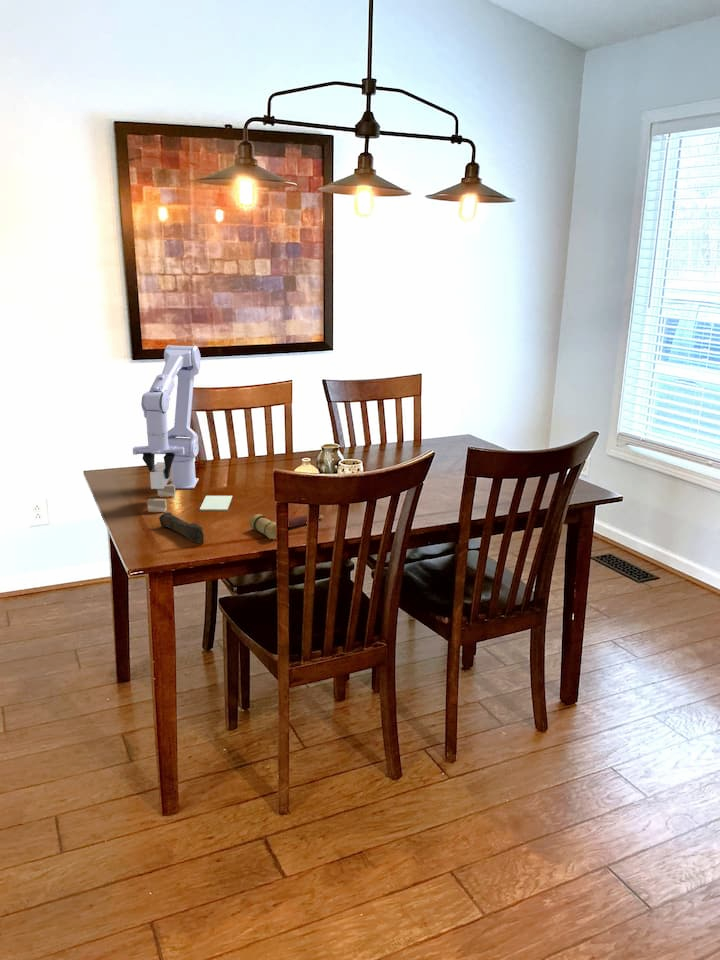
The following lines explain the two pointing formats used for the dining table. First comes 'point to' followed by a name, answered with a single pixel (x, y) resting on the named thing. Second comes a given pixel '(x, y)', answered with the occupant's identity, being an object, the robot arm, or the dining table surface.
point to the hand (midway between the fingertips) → (160, 477)
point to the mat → (216, 503)
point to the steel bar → (158, 476)
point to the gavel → (274, 524)
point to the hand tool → (182, 527)
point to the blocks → (160, 504)
